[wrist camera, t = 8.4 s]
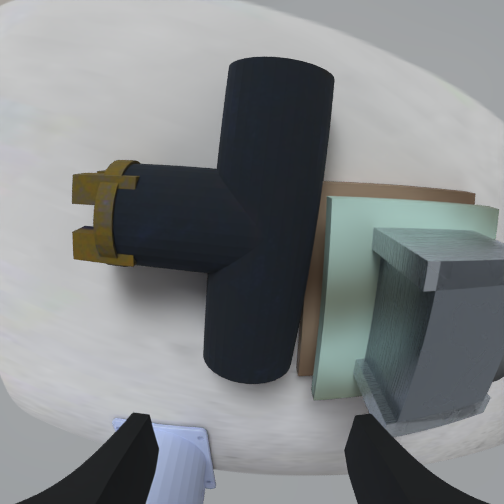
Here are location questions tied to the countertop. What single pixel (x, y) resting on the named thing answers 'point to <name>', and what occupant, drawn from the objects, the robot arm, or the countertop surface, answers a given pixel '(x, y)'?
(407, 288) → the housing
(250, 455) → the countertop surface
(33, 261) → the countertop surface
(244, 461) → the countertop surface
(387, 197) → the stand
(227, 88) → the pipe connector
